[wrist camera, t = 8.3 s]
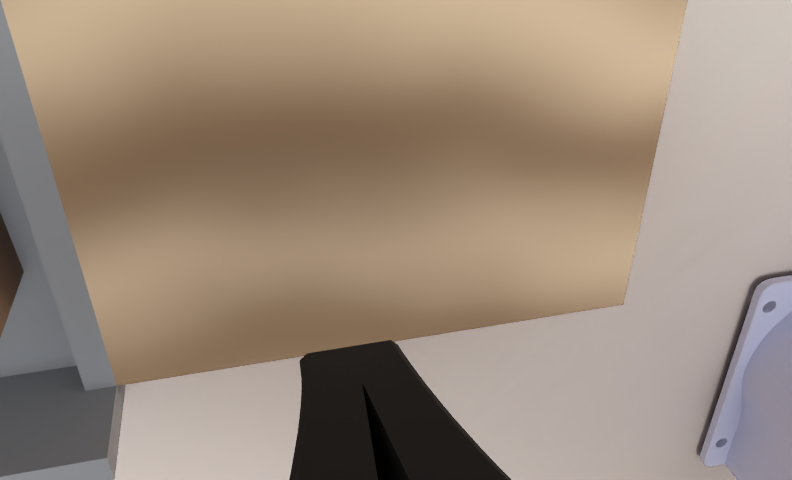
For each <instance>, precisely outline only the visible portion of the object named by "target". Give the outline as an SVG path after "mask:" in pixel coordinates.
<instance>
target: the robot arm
mask: <svg viewBox="0 0 792 480" xmlns="http://www.w3.org/2000/svg"><path fill="white" fill-rule="evenodd" d="M300 368H301V377H302V396H301V409H300V419H299V428H298V435H297V440H296V446H295V452H294V458H293V464H292V469H291V475H290V480H511V479H510V478H509V477H508V476H507V475H506V474H505V473H504V472H503V471H502V470H501V469H500V468H499V467H498V466H497V465H496V464H495V463H494V462H493V461H492V459H491V458H490V457H489V456H488V455H487V454H486V453H485V452H484V451H483V450H482V449H481V448H480V447H479V446H478V444H477V443H476V442H475V441H474V440H473V439H472V438H471V437H470V436H469V434H468V433H467V432H466V431H465V430H464V429H463V428H462V427H461V426H460V424H459V423H458V422H457V421H456V420H455V419H454V418H453V417H452V415H451V414H450V413H449V412H448V411H447V409H446V408H445V407H444V406H443V405H442V403H441V402H440V401H439V400H438V399H437V397H436V396H435V395H434V394H433V392H432V391H431V390H430V389H429V387H428V386H427V385H426V384H425V382H424V381H423V380H422V378H421V377H420V376H419V374H418V373H417V372H416V370H415V369H414V368H413V366H412V365H411V364H410V362H409V361H408V359H407V358H406V356H405V355H404V354H403V352H402V351H401V349H400V348H399V346H398V345H397V344H396V343H394V342H393V341H391V340H387V341H381V342H374V343H368V344H362V345H356V346H350V347H343V348H337V349H331V350H325V351H318V352H312V353H307V354H306V355H305V356H304V357H303V358H302V359H301V360H300ZM700 459H701V461H702V462H703V463H704V465H705V466H707V467H714V466H719V465H724V464H726V466H727V467H728V468H729V470H730V471H731V472H732V473H733V475H734V476H735V477H736V479H737V480H792V275H789V276H782V277H776V278H770V279H767V280H764V281H763V282H761V283H760V284H759V285H758V286H757V287H756V289H755V291H754V294H753V297H752V300H751V303H750V306H749V309H748V312H747V315H746V318H745V321H744V324H743V327H742V330H741V333H740V336H739V339H738V342H737V345H736V348H735V351H734V354H733V357H732V360H731V363H730V366H729V369H728V372H727V375H726V378H725V381H724V385H723V388H722V391H721V394H720V397H719V400H718V403H717V406H716V409H715V412H714V415H713V418H712V421H711V424H710V427H709V430H708V433H707V436H706V439H705V442H704V445H703V448H702V451H701V454H700Z"/></svg>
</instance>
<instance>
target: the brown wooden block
mask: <svg viewBox="0 0 792 480" xmlns="http://www.w3.org/2000/svg"><path fill="white" fill-rule="evenodd" d="M23 273H24V270H23V268H22V265H21V263H20V260H19V258H18V255H17V253H16V250H15V248H14V245H13V243H12V240H11V238H10V235H9V233H8V230H7V228H6V225H5V223H4V220H3V218H2V215H1V213H0V338H1V335H2V332H3V330H4V327H5V324H6V321H7V318H8V315H9V313H10V310H11V307H12V304H13V301H14V298H15V296H16V293H17V290H18V287H19V284H20V281H21V279H22V276H23Z"/></svg>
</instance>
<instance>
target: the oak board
mask: <svg viewBox="0 0 792 480" xmlns="http://www.w3.org/2000/svg"><path fill="white" fill-rule="evenodd" d="M1 3H2V6H3V9H4V13H5V16H6V19H7V23H8V26H9V29H10V33H11V36H12V39H13V43H14V46H15V49H16V53H17V56H18V59H19V63H20V66H21V69H22V73H23V76H24V79H25V83H26V86H27V89H28V93H29V96H30V99H31V103H32V106H33V109H34V113H35V116H36V119H37V123H38V126H39V129H40V133H41V136H42V139H43V143H44V146H45V149H46V153H47V156H48V159H49V163H50V166H51V169H52V173H53V176H54V179H55V182H56V186H57V189H58V192H59V196H60V199H61V202H62V206H63V209H64V212H65V216H66V219H67V222H68V226H69V229H70V232H71V236H72V239H73V242H74V246H75V249H76V252H77V256H78V259H79V262H80V266H81V269H82V272H83V276H84V279H85V282H86V286H87V289H88V292H89V296H90V299H91V302H92V306H93V309H94V312H95V316H96V319H97V322H98V326H99V329H100V332H101V336H102V339H103V342H104V346H105V349H106V352H107V356H108V359H109V362H110V366H111V369H112V372H113V376H114V379H115V382H116V386H119V385H126V384H132V383H138V382H144V381H150V380H157V379H163V378H169V377H175V376H182V375H188V374H194V373H200V372H206V371H213V370H219V369H225V368H231V367H238V366H244V365H250V364H256V363H262V362H269V361H275V360H281V359H287V358H294V357H300V356H305V355H306V354H307V353H312V352H318V351H325V350H331V349H337V348H343V347H350V346H356V345H362V344H368V343H374V342H381V341H387V340H391V341H399V340H406V339H412V338H418V337H424V336H430V335H437V334H443V333H449V332H455V331H461V330H468V329H474V328H480V327H486V326H493V325H499V324H505V323H511V322H517V321H524V320H530V319H536V318H542V317H549V316H555V315H561V314H567V313H573V312H580V311H586V310H592V309H598V308H605V307H611V306H617V305H623V304H624V299H625V294H626V290H627V285H628V280H629V275H630V271H631V266H632V261H633V256H634V252H635V247H636V242H637V237H638V233H639V228H640V223H641V218H642V214H643V209H644V204H645V199H646V195H647V190H648V185H649V181H650V176H651V171H652V166H653V162H654V157H655V152H656V147H657V143H658V138H659V133H660V128H661V124H662V119H663V114H664V109H665V105H666V100H667V95H668V90H669V86H670V81H671V76H672V71H673V67H674V62H675V57H676V53H677V48H678V43H679V38H680V34H681V29H682V24H683V19H684V15H685V10H686V5H687V0H1Z"/></svg>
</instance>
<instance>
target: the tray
mask: <svg viewBox="0 0 792 480" xmlns="http://www.w3.org/2000/svg"><path fill="white" fill-rule="evenodd" d="M0 213H1V215H2V218H3V220H4V223H5V225H6V228H7V230H8V233H9V235H10V238H11V240H12V243H13V245H14V248H15V250H16V253H17V255H18V258H19V260H20V263H21V265H22V268H23V270H24V273H23V276H22V279H21V281H20V284H19V287H18V290H17V293H16V296H15V298H14V301H13V304H12V307H11V310H10V313H9V315H8V318H7V321H6V324H5V327H4V330H3V332H2V335H1V338H0V480H114V479H115V470H116V462H117V453H118V445H119V436H120V428H121V419H122V411H123V402H124V394H125V386H126V385H119V386H116V382H115V379H114V376H113V372H112V369H111V366H110V362H109V359H108V356H107V352H106V349H105V346H104V342H103V339H102V336H101V332H100V329H99V326H98V322H97V319H96V316H95V312H94V309H93V306H92V302H91V299H90V296H89V292H88V289H87V286H86V282H85V279H84V276H83V272H82V269H81V266H80V262H79V259H78V256H77V252H76V249H75V246H74V242H73V239H72V236H71V232H70V229H69V226H68V222H67V219H66V216H65V212H64V209H63V206H62V202H61V199H60V196H59V192H58V189H57V186H56V182H55V179H54V176H53V173H52V169H51V166H50V163H49V159H48V156H47V153H46V149H45V146H44V143H43V139H42V136H41V133H40V129H39V126H38V123H37V119H36V116H35V113H34V109H33V106H32V103H31V99H30V96H29V93H28V89H27V86H26V83H25V79H24V76H23V73H22V69H21V66H20V63H19V59H18V56H17V53H16V49H15V46H14V43H13V39H12V36H11V33H10V29H9V26H8V23H7V19H6V16H5V13H4V9H3V6H2V3H1V0H0Z"/></svg>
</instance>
